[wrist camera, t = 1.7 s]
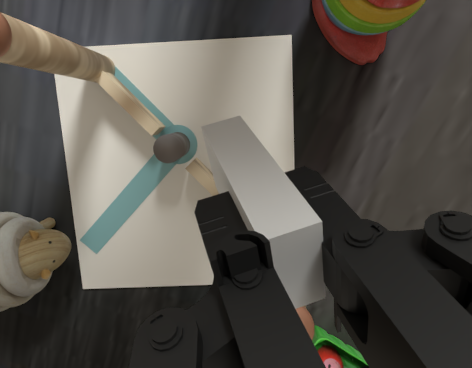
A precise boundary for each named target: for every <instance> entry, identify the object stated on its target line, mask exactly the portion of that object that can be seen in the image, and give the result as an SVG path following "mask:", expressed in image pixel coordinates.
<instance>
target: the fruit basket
mask: <svg viewBox="0 0 472 368" xmlns="http://www.w3.org/2000/svg"><path fill="white" fill-rule="evenodd" d="M312 342H313V344H314V346H315V347H316V349H317V351H318V353H319V355H320V357H321V359H322V361H323V363H324V365H325V367H326V368H369V366H368V364H367V363H366V361H365V360H364V358H363V356H362V355H361V353H360V352H359V351H357V350H356V349H354V348H353V347H351V346H349V345H346V344H344V343H343V342H342V341H341V340H340V339H338V338H336V337H335V336H333V335H330V334H328V333H327V332H326V331H325V330H323V329H322V328H320V327H318V326H314V337H313V340H312Z"/></svg>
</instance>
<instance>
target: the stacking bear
mask: <svg viewBox="0 0 472 368" xmlns="http://www.w3.org/2000/svg"><path fill="white" fill-rule="evenodd" d="M425 1H426V0H312V6H313V12H314V16H315V19H316V21H317V23H318V26H319V28H320V30H321V31H322V33H323V35H324V36H325V38H326V39H327V40H328V42H329V43H330V44H331V45H332V47H333V48H334V49H335V50H336V51H337V52H339V53H340V54H341V55H342V56H344V57H345V58H347V59H348V60H350V61H352V62H354V63H356V64H358V65H364V64H366V63H367V62H368V63H373V62H375V61H376V60H377V58H378V56H379V55H380V54H381V53H382V52H383V51H384V48H385V44H386V36H387V32H388V31H390V30H392V29H394V28H396V27H398V26H400V25H402V24H403V23H405V22H406V21H407V20H409V19H410V18H411V17H412V16H413V15H414V14H415V13H416V12H417V11H418V10H419V9H420V8H421V7H422V5H423V4H424V3H425Z"/></svg>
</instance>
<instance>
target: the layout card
mask: <svg viewBox="0 0 472 368" xmlns="http://www.w3.org/2000/svg"><path fill="white" fill-rule="evenodd" d="M85 48H88V49H90V50H93V51H95V52H97V53H100V54H102V55H105V56H107V57H109V58H110V59H111V60H112V61H113V63H114V65H115V75H114V76H115V77H116V78H117V79H118V80H119V81H120V82H121V83H122V84H123V85H124V86H125V87H126V88H127V89H128V90H129V91H130V92H131V93H132V94H133V95H134V96H135V97H136V98H137V99H138V100H139V101H140V102H141V103H142V104H143V105H144V106H145V107H146V108H147V109H148V110H149V111H150V112H151V113H153V114H154V115H155V116H156V117H157V118H158V119H159V120H160V121H161V122H162V123H163V124H164V125H165V126H166V127H165V128H164V129H163V130H162V131H161V132H160V133H159V134H158V135H153V136H151V135H150V134H149V133H148V132H147V131H146V130H145V129H144V128H143V127H142V126H141V125H140V124H139V123H138V122H137V121H136V120H135V119H134V118H133V117H132V116H131V115H130V114H129V113H128V112H127V111H126V110H125V109H124V108H123V107H122V106H121V105H120V104H119V103H118V102H116V101H115V100H114V99H113V98H112V97H111V96H110V95H109V94H108V93H107V92H106V91H105V90H104V89H103V88H102V87H101V86H100V85H99V84H98V83H96V82H91V81H86V80H82V79H77V78H72V77H68V76H63V75H58V74H55V81H56V89H57V97H58V104H59V112H60V119H61V127H62V134H63V142H64V150H65V157H66V165H67V172H68V180H69V187H70V195H71V203H72V210H73V218H74V225H75V233H76V240H77V248H78V256H79V263H80V271H81V278H82V286H83V289H101V288H130V287H160V286H189V285H212V284H213V279H214V274H213V271H212V268H211V265H210V262H209V259H208V256H207V253H206V249H205V246H204V243H203V240H202V236H201V233H200V230H199V226H198V223H197V220H196V216H195V213H194V212H195V208H196V205H197V201H198V200H201V199H204V198H208V197H211V196H212V195H211V194H210V193H209V192H208V191H207V190H206V189H205V188H204V187H203V186H202V185H201V184H200V183H199V182H198V181H197V180H196V179H195V178H194V177H193V176H192V175H191V174H190V173H189V172H188V171H187V170H186V169H185V168H186V167H187V166H188V165H189V164H190V163H191V162H192V161H193V160H194V159H195V158H196V157H197V158H198V159H199V160H200V161H201V162H202V163H203V164H204V165H205V166H206V167H207V168H208V169H209V170H210V171H211V172H212V169H211V165H210V161H209V157H208V153H207V149H206V145H205V141H204V137H203V133H202V129H201V126H205V125H208V124H212V123H215V122H219V121H222V120H226V119H229V118H233V117H236V116H241V118H242V119H243V120H244V121H245V123H246V124H247V125H248V127H249V128H250V129H251V130H252V132H253V133H254V134H255V136H256V137H257V138H258V139H259V141H260V142H261V143H262V145H263V146H264V147H265V148H266V150H267V151H268V152H269V154H270V155H271V156H272V157H273V159H274V160H275V161H276V163H277V164H278V165H279V166H280V168H281V169H282V170H283V172H284V173H285V172H288V171H291V170H294V169H295V168H294V121H293V75H292V35H280V36H263V37H246V38H228V39H211V40H194V41H176V42H159V43H142V44H124V45H107V46H90V47H85ZM174 132H181V133H183V134H185V135H186V136H187V137H188V139H189V141H190V149H189V151H188V153H187V154H186V155H184V156H183V157H181V158H180V159H178V160H177V161H175V162H173V163H163V162H161V161H159V160H158V159H157V158H156V156H155V154H154V151H153V146H154V143H155V141H156V139H157V138H159V137H160V136H162V135H166V134H170V133H174Z"/></svg>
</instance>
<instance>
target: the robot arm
mask: <svg viewBox="0 0 472 368" xmlns="http://www.w3.org/2000/svg"><path fill="white" fill-rule="evenodd" d="M201 129H202V133H203V137H204V141H205V145H206V149H207V153H208V157H209V161H210V165H211V169H212V173H213V177H214V181H215V186H216V188H217V191H218V193H219V194H217V195H214V196H211V197H208V198H204V199H201V200H198V201H197V205H196V208H195V212H194V213H195V216H196V220H197V223H198V226H199V230H200V233H201V236H202V240H203V243H204V246H205V249H206V253H207V256H208V259H209V262H210V265H211V268H212V271H213V274H214V279H213V284H212V286H211V288H210V290H209V291H208V293H207V294H206V295H205V297H203V298H202V299H201V300H200V301H199V302H198V303H196V304H195V305H193V306H192V307H190V308H189V309H187V310H185V309H182V308H180V307H168V308H165V309H162V310H159V311H157V312H155V313H154V314H152V315H151V316H149V317H148V318H146V320H145V321H144V322H143V323H142V324H141V326H140V327H139V328H138V331H137V333H136V336H135V339H134V343H133V348H132V353H131V359H130V364H129V368H326V367H325V365H324V363H323V361H322V359H321V357H320V355H319V353H318V351H317V349H316V347H315V346H314V344H313V342H312V340H311V338H310V336H309V334H308V332H307V330H306V328H305V326H304V324H303V322H302V321H301V319H300V317H299V315H298V313H297V311H296V309H297V308H299V307H302V306H305V305H308V304H310V303H313V302H316V301H319V300H321V299H324V298H326V287H325V284H326V286H327V288H328V289H329V291H330V292H331V294H332V295H333V297H334V317H335V327H336V330H337V333H338V332H340V331H341V322H342V324H343V325H344V327H345V329H346V330H347V332H348V334H349V335H350V337H351V338H352V340H353V342H354V343H355V345H356V347H357V348H358V350H359V351H360V353H361V355H362V356H363V358H364V360H365V361H366V363H367V364H368V366H369V368H472V216H471V215H469V214H466V213H463V212H456V211H442V212H438V213H435V214H432V215H430V216H429V217H428V218H427V219H426V221H425V225H424V229H419V230H406V231H388V230H387V229H386V228H384V227H383V226H382V225H380V224H379V223H377V222H374V221H371V220H368V219H360V218H359V216H358V215H357V214H356V213H355V212H354V211H353V210H352V209H351V208H350V207H349V206H348V205H347V203H346V202H345V201H344V200H343V199H342V198H341V197H340V196H339V195H338V194H337V193H336V192H335V191H334V190H333V188H332V187H331V186H330V185H329V184H327V183H326V181H325V180H324V179H323V178H322V176H321V175H320V174H319V173H318V172H316V171H313V170H311V169H309V168H307V167H305V166H304V167H301V168H297V169H294V170H291V171H288V172H285V173H284V172H283V170H282V169H281V168H280V166H279V165H278V164H277V163H276V161H275V160H274V159H273V157H272V156H271V155H270V154H269V152H268V151H267V150H266V148H265V147H264V146H263V145H262V143H261V142H260V141H259V139H258V138H257V137H256V136H255V134H254V133H253V132H252V130H251V129H250V128H249V127H248V125H247V124H246V123H245V121H244V120H243V119H242V118H241V116H236V117H233V118H229V119H226V120H222V121H219V122H215V123H212V124H208V125H205V126H201Z"/></svg>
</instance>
